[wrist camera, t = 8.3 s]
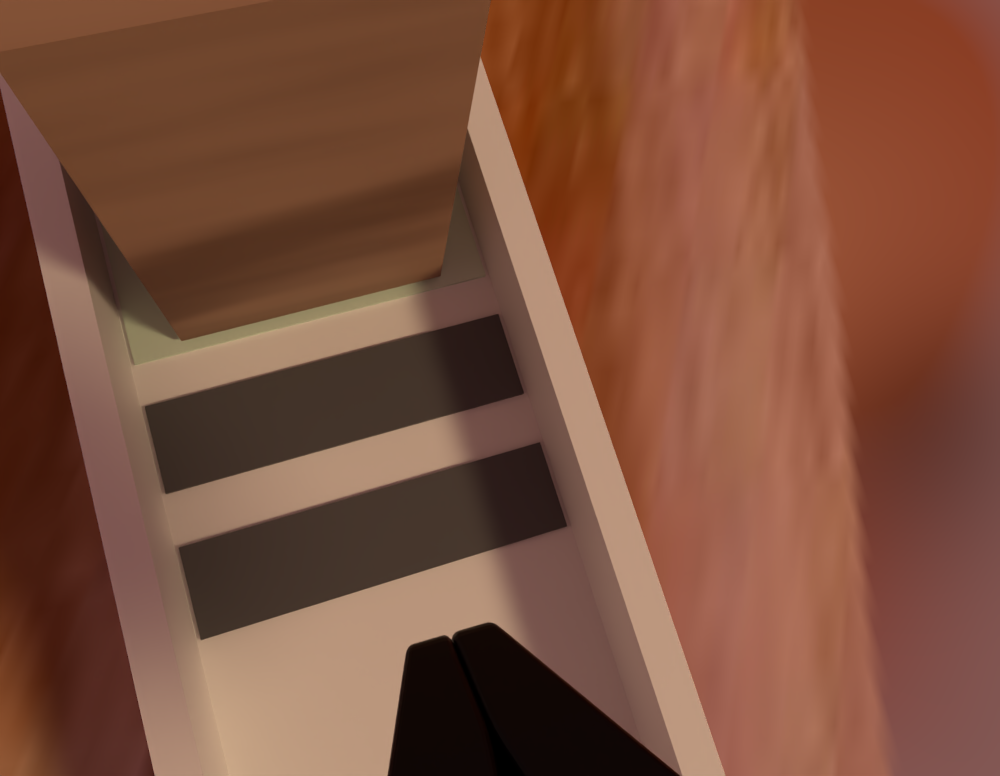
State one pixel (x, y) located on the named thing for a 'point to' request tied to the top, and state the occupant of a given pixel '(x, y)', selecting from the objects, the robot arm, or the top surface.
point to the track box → (354, 490)
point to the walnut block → (255, 140)
